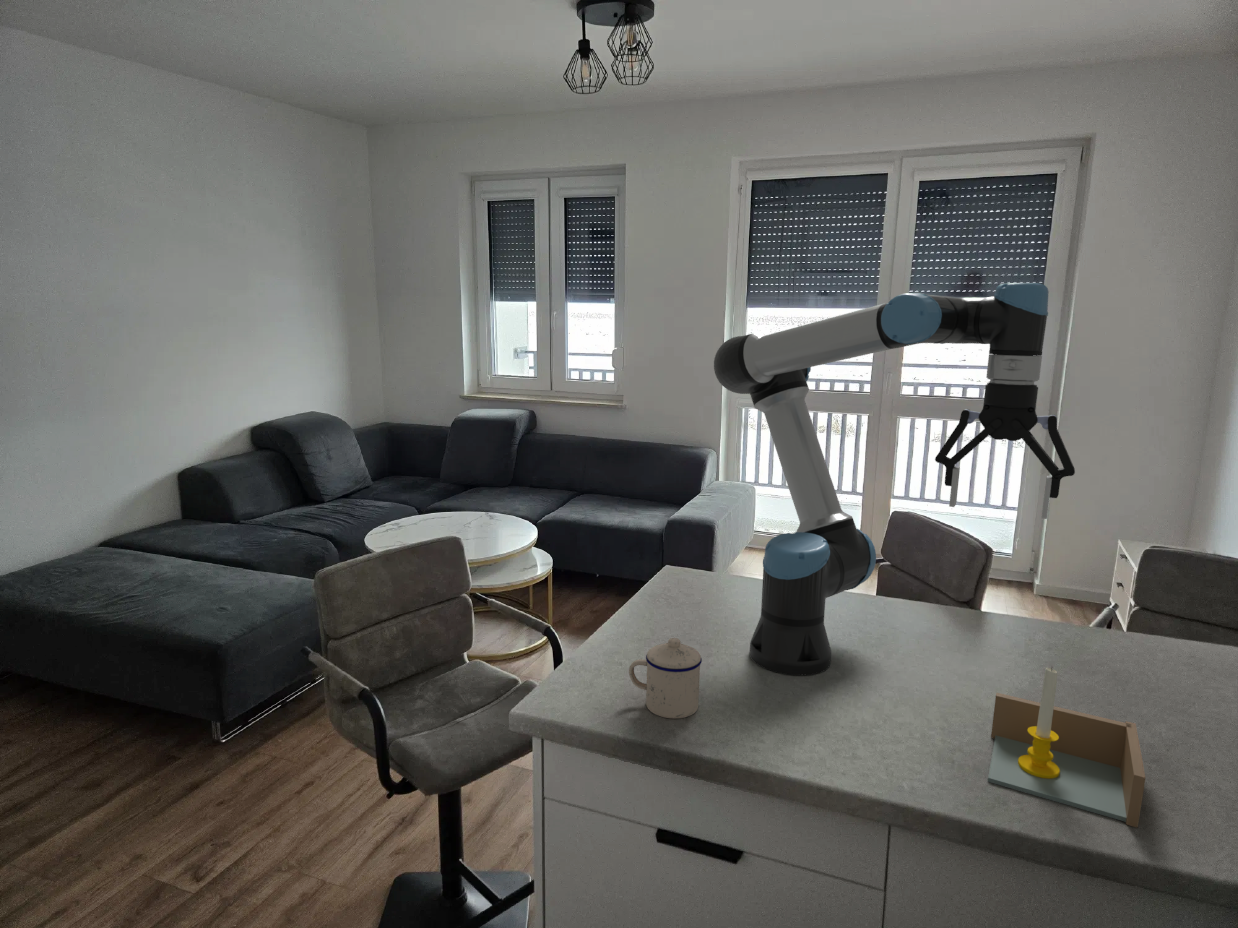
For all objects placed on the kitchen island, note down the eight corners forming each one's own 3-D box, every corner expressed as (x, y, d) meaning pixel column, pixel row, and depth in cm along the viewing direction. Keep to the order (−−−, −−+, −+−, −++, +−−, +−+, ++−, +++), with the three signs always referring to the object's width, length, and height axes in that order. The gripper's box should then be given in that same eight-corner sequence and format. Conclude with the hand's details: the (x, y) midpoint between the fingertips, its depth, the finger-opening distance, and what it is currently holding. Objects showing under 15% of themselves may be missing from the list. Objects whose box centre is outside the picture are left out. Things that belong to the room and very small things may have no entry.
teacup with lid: (703, 697, 125) (706, 632, 123) (694, 724, 116) (697, 655, 114) (635, 686, 128) (637, 623, 126) (621, 712, 119) (622, 644, 117)
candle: (1047, 758, 107) (1060, 658, 105) (1067, 779, 102) (1081, 675, 100) (1010, 756, 108) (1023, 657, 105) (1029, 778, 102) (1042, 673, 100)
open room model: (982, 782, 102) (987, 735, 101) (991, 732, 115) (996, 690, 114) (1137, 827, 93) (1145, 777, 92) (1128, 767, 106) (1135, 723, 105)
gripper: (925, 379, 121) (913, 504, 125) (1105, 388, 109) (1086, 527, 112) (932, 377, 128) (921, 496, 131) (1103, 385, 115) (1085, 517, 119)
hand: (997, 511), depth 122 cm, fingers open, 13 cm apart
